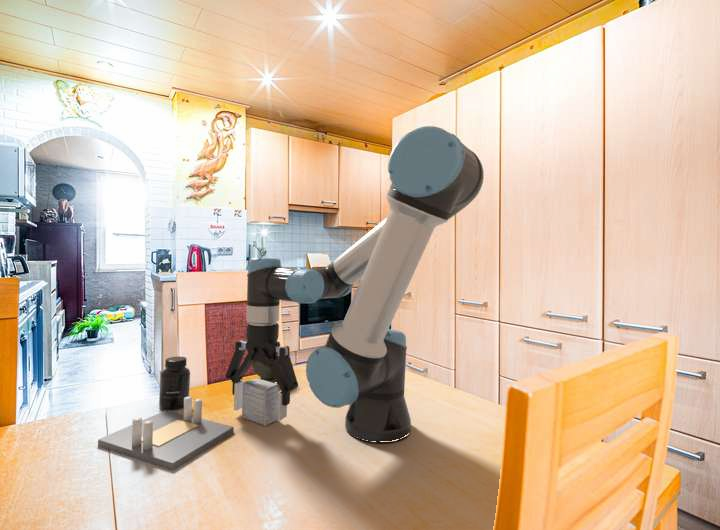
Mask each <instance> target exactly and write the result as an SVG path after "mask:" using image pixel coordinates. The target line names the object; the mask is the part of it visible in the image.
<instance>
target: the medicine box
mask: <svg viewBox="0 0 720 530" xmlns="http://www.w3.org/2000/svg"><path fill="white" fill-rule="evenodd" d="M279 389H280V387H279V385H278V383H277V384H275V383H272V382H269V381H265V380H261V378H253V379H249V380H247V381H245V382H244V383H243V394H242V408H241V417H242V418H243V419H245V420H249V421H250V422H254V423H256V424H259V425H262V426H264V427H266V426H268V425H270V424H272V423H274V422H276V421H278V420H277V415H278V392H279Z"/></svg>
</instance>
